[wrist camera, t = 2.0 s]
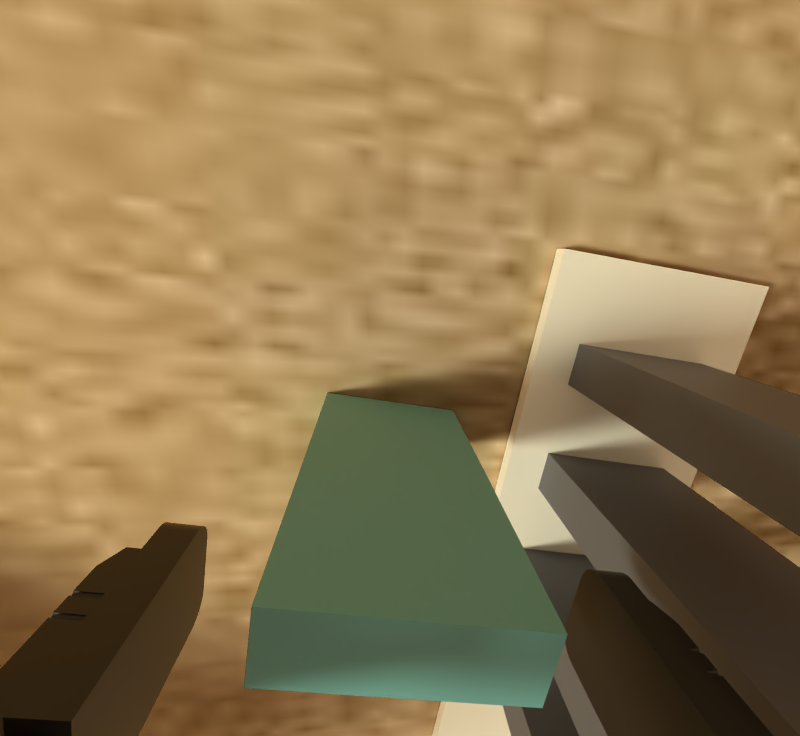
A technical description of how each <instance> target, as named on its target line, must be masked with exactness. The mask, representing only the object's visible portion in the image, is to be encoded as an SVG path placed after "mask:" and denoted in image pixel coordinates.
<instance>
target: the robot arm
mask: <svg viewBox="0 0 800 736" xmlns="http://www.w3.org/2000/svg"><path fill="white" fill-rule="evenodd" d="M206 547H207V529H206V527H205V526H196V525H186V524H177V523H168V522H166V523H164V524H162V525H161V526H160V527H159V528H158V530H157V531H156V532H155V533H154V534H153V536H152V537H151V538H150V539H149V541H148V542H147V543H146V544H145V545H144V547H143V548H142V549H138V548H128V547H126V548H125V549H123V550H121V551H120V552H118V553H117V554H115V555H113V556H112V557H110V558H109V559H107V560H105V561H104V562H102V563H101V564H99V565H97V566H96V567H95V568H94V569H93V570H92V571H91V572H90V573H89V575H88V576H87V577H86V578H85V579H84V580H83V581H82V582H81V583H80V584H79V585H78V586H77V587H76V589H75V590H74V592H73V594H72V596H68V597H67V598H66V599H65V600H64V601H63V603H62V604H61V605H60V606H59V607H58V608H57V609H56V610H55V611H54V613H53V616H52V617H51V618H48V619H47V620H46V621H45V622H44V623H43V624H42V625H41V626H40V627H39V628H38V629H37V631H36V632H35V633H34V634H33V635H32V636H31V637H30V638H29V639H28V640H27V641H26V642H25V643H24V644H23V646H22V647H21V648H20V649H19V650H18V651H17V652H16V653H15V654H14V655H13V656H12V657H11V658H10V660H9V661H8V662H7V663H6V664H5V665H4V666H3V667H2V668H1V669H0V736H138V735H139V733H140V731H141V729H142V727H143V725H144V723H145V721H146V719H147V717H148V715H149V713H150V711H151V709H152V707H153V705H154V703H155V701H156V699H157V697H158V695H159V693H160V691H161V689H162V687H163V685H164V683H165V681H166V679H167V677H168V675H169V673H170V671H171V669H172V667H173V665H174V663H175V661H176V659H177V657H178V655H179V653H180V651H181V650H182V648H183V646H184V644H185V642H186V640H187V638H188V636H189V634H190V632H191V630H192V628H193V625H194V623H195V621H196V618H197V615H198V612H199V609H200V605H201V601H202V597H203V589H204V576H205V561H206ZM565 630H566V632H567V634H568V635H567V637H566V640H565V644H566V649H567V653H568V656H569V659H570V661H571V663H572V665H573V667H574V669H575V671H576V673H577V675H578V677H579V679H580V682H581V684H582V686H583V688H584V690H585V692H586V694H587V696H588V698H589V700H590V702H591V704H592V706H593V708H594V710H595V712H596V714H597V716H598V718H599V720H600V722H601V724H602V726H603V728H604V730H605V732H606V734H607V736H773V735H772V733H771V732H770V731H769V730H768V729H767V727H766V726H765V725H764V724H763V723H762V722H761V720H760V719H759V718H758V717H757V716H756V715H755V713H754V712H753V711H752V710H751V709H750V707H749V706H748V705H747V704H746V703H745V702H744V700H743V699H742V698H741V697H740V696H739V695H738V693H737V692H736V691H735V690H734V689H733V687H732V686H731V685H730V684H729V683H728V682H727V680H726V679H725V678H724V677H723V676H719V674H718V670H717V669H716V667H715V666H714V665H713V664H712V663H711V662H710V660H709V659H708V658H707V657H706V656H705V655H704V654H703V653H700V651H699V647H698V646H697V645H696V644H695V643H694V642H693V640H692V639H691V638H690V637H689V636H688V635H687V633H686V632H685V631H684V630H683V629H682V627H681V626H680V625H679V624H678V623H677V622H676V621H675V620H673V619H672V618H671V617H670V616H668V615H667V614H666V613H665V612H663V611H662V610H661V609H660V608H659V607H657V606H656V605H655V604H654V603H652V602H651V601H649V600H648V599H647V597H646V596H645V595H644V594H643V593H642V591H641V590H640V589H639V588H638V587H637V585H636V584H635V583H634V582H633V580H632V579H631V578H630V577H629V576H628V575H626V574H625V573H621V572H613V571H603V570H594V569H588V570H586V571H585V572H584V573H583V575H582V577H581V580H580V583H579V586H578V589H577V592H576V595H575V598H574V601H573V605H572V608H571V611H570V614H569V617H568V620H567V623H566V627H565Z"/></svg>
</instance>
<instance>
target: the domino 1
mask: <svg viewBox="0 0 800 736" xmlns="http://www.w3.org/2000/svg"><path fill="white" fill-rule="evenodd" d="M567 635H568V634H567V632H566V630H565V628H564V626H563V624H562V622H561V620H560V618H559V616H558V614H557V612H556V610H555V609H554V607H553V605H552V603H551V601H550V599H549V597H548V595H547V593H546V591H545V589H544V587H543V585H542V583H541V581H540V579H539V577H538V575H537V573H536V571H535V569H534V567H533V565H532V564H531V562H530V560H529V558H528V556H527V554H526V552H525V550H524V548H523V546H522V544H521V542H520V540H519V538H518V536H517V534H516V532H515V530H514V528H513V526H512V524H511V522H510V520H509V519H508V517H507V515H506V513H505V511H504V509H503V507H502V505H501V503H500V501H499V499H498V497H497V495H496V493H495V491H494V489H493V487H492V485H491V483H490V481H489V479H488V477H487V475H486V474H485V472H484V470H483V468H482V466H481V464H480V462H479V460H478V458H477V456H476V454H475V452H474V450H473V448H472V446H471V444H470V442H469V440H468V438H467V436H466V434H465V432H464V430H463V429H462V427H461V425H460V423H459V421H458V419H457V417H456V415H455V413H454V411H453V410H447V409H440V408H433V407H426V406H419V405H412V404H404V403H397V402H390V401H383V400H376V399H369V398H362V397H355V396H348V395H341V394H334V393H327V396H326V399H325V401H324V404H323V407H322V410H321V413H320V416H319V418H318V421H317V424H316V427H315V430H314V432H313V435H312V438H311V441H310V444H309V446H308V449H307V452H306V455H305V458H304V461H303V463H302V466H301V469H300V472H299V475H298V477H297V480H296V483H295V486H294V489H293V492H292V494H291V497H290V500H289V503H288V506H287V508H286V511H285V514H284V517H283V520H282V523H281V525H280V528H279V531H278V534H277V537H276V539H275V542H274V545H273V548H272V551H271V553H270V556H269V559H268V562H267V565H266V568H265V570H264V573H263V576H262V579H261V582H260V584H259V587H258V590H257V593H256V596H255V599H254V601H253V604H252V608H251V618H250V629H249V639H248V650H247V660H246V671H245V681H244V688H251V689H266V690H281V691H296V692H310V693H325V694H340V695H355V696H370V697H384V698H399V699H414V700H429V701H444V702H459V703H473V704H488V705H503V706H518V707H533V708H543V705H544V702H545V699H546V696H547V693H548V690H549V687H550V684H551V681H552V678H553V676H554V673H555V670H556V667H557V664H558V661H559V658H560V655H561V652H562V649H563V646H564V643H565V640H566V637H567Z"/></svg>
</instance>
